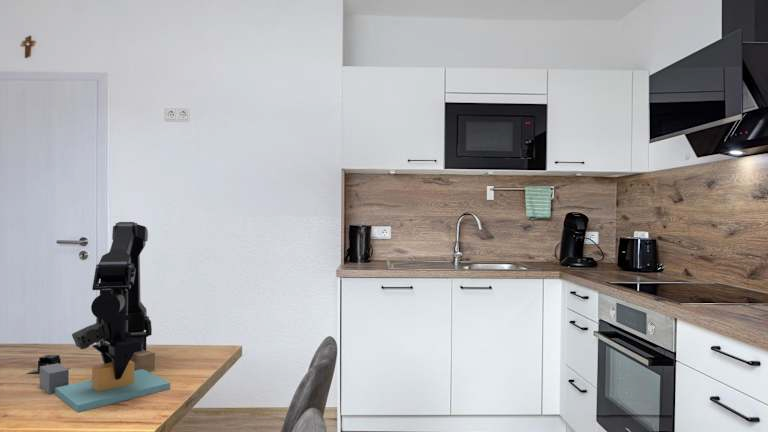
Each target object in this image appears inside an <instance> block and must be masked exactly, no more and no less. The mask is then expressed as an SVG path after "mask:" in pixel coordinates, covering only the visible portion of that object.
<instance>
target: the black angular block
mask: <svg viewBox="0 0 768 432" xmlns="http://www.w3.org/2000/svg"><path fill="white" fill-rule="evenodd" d="M60 356H61V355H60V354H45V355H42V356H40V357H39V360H38V361H37V368H36V369H37V370H35V369H33V370H30V371H31V372H30V371H28V372H25V373H26V374H25V375H40V367H41V366H46V365H51V364H57V363H59V364H61V362H62V361H61V359H62V358H61V357H60ZM66 368H67V367H66ZM67 369H70V367H68V368H67ZM70 370H71V369H70Z"/></svg>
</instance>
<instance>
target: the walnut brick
mask: <svg viewBox="0 0 768 432" xmlns="http://www.w3.org/2000/svg"><path fill="white" fill-rule="evenodd" d="M155 355H156V352H154V351H149V350H147V349H146V350H142V351H140V352H135V353H134V354H133V356H132V358H131V359H130V360H131V361H133V362H134V371H136V370H140V369H144V370H146V371H148V372H150V373H151V372H154V371H155V369H156V368H155V363H156V362H155V361H156V360H155V357H156V356H155Z"/></svg>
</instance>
